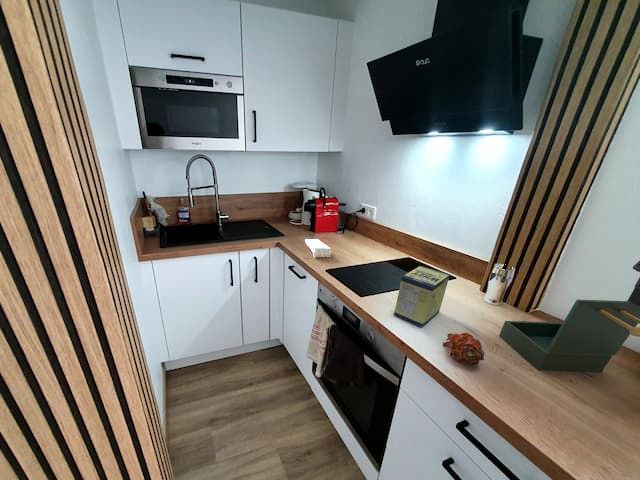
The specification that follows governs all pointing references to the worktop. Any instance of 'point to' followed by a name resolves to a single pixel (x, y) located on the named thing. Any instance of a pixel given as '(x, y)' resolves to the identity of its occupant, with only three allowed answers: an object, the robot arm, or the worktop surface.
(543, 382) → the worktop surface
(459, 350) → the dragon fruit
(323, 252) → the white rectangular block
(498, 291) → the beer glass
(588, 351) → the box lid with handle
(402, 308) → the protein box
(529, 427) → the worktop surface
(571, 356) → the dark green box base
